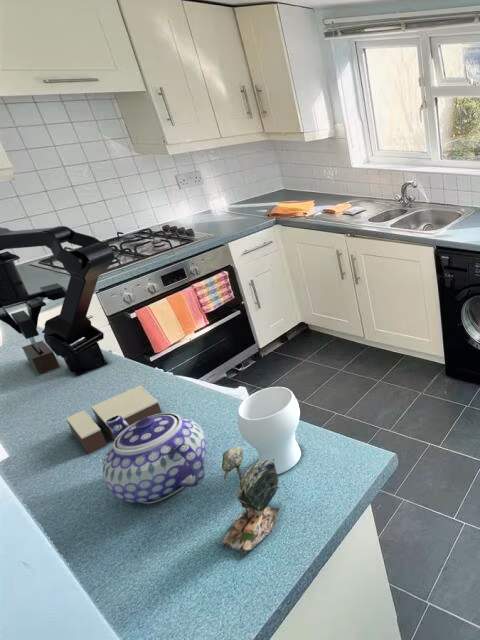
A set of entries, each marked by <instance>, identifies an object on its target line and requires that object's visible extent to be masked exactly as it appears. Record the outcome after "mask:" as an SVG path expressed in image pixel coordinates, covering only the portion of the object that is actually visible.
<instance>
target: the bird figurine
mask: <svg viewBox="0 0 480 640" xmlns="http://www.w3.org/2000/svg"><path fill="white" fill-rule="evenodd" d="M243 454H244V452H243V448H242V447H241V446H240V445H238V446H236V447H232V448H229V449H227V450H226V451H224V452H223V453H222V460H221V470H222V471H223V472H224V478H223V479H224V480H227V478H228V474H229V473H230V472H231V471H233V470H235V469H236V472H237V474H238V478H239V481H240V482H239V484H238V488H237V493H236V499H237V501H238V503H240V506H241V508H243V509H245V511H244V512H243V513H241V514H239V515H238V517H236V518H234V522H233V523H232V524H231V526H230V527H229V528H228V529H227V533H226V534H225V535H224V537H223V540H222V541H221V543H222V546H223V547H228V546H229V548H232V549H234V551H237V552H238V551H239V554H242V555H246V554H247V553H249V552H251V551H252V550H253V549H255V547H256V546H258V545H259V544H260V543H261V541H263V540H264V538H266V537H267V535H270V533H271V532H273V530H274V528H275V525H276V520H277V518H278V517H279V515H278V514H279V511H280V508H279V507H271V506H268V505H269V504H270V502H271V501H272V499H273V497H275V495H276V493H277V491H278V489H280V486H279V485H278V484H279V474H277V472H276V468H275V464H274V463H273V462H272V461H270V460H261V461H259V460H258V461H257V462H255V463H253V465H251V466H250V467H249V468H248V469H247V470H245V471H246V472H244V474H243V475H242V472H241V465H242V463H243V460H244V455H243ZM273 461H274V459H273ZM234 551H233V552H234Z"/></svg>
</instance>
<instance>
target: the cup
mask: <svg viewBox="0 0 480 640" xmlns="http://www.w3.org/2000/svg"><path fill="white" fill-rule="evenodd" d="M300 418H301V410H300V404H299V401H298V399H297V398H296V396H295V394H294V392H293V391H292V390H291V389H289V388H287V387H283V386H271V387H265V388H262V389H260V390H257V391H256V392H254V393H252V394H250V395H249V396H247V397H246V398H245V399H243V401H242V402H241V403H240V405H239V406H238V409H237V421H236V422H237V426H238V429H239V434H240V436H241V437H242V438H243V439H244V440H245V442H246V443H247V444H248V445H249V446H250V447H253V448H254V449H255V450H256V453H257V454H258V461H261V460H270V461H272V462H273V463H274V464H275V468H276V472H277V474H278V475H280V474H283V473H285V472H287V471H289V470H291V469H292V468H293V467H294V466H295V465H297V464H298V462H299V460H300V458H301V456H302V451H301V449H300V446H299V444H298V442H297V441H296V432H297V429H298V427H299V422H300ZM273 459H274V461H273Z"/></svg>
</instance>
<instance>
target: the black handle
mask: <svg viewBox="0 0 480 640" xmlns="http://www.w3.org/2000/svg"><path fill="white" fill-rule="evenodd" d="M10 316H11V317H12V319H13V320H14V321H15V323H16V324H17V325H18V327H19V328H20V330H21V332H22V334H21V335H22V336H23V338H24V339H25V340H28V339H29V341H30V344H32V345H33V346H34V348H35V349H36V350H37V351H38V352H39V353H40V350H39V348H38V346H37V343H36V342H37V341H36V339H35V337H38V336H40V333H39V332H38V328H37V329H36V327H35V325H34V323H33V320H32V319H31V318H30V317H29V313H28V312H26V311H25V310H20V311H16V312H12V313H10Z"/></svg>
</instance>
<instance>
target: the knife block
mask: <svg viewBox="0 0 480 640" xmlns="http://www.w3.org/2000/svg"><path fill="white" fill-rule="evenodd" d="M36 343H37V346H38V348H39V350H40V353H39V352H38V351H37V350H36V349H35V348H34V346H33V345H32V344H31V343H30V344H27V345H24V346H22V347H21V349H22V351H23V353H24V354H25V356H26V359H27V360H28V362H29V364H30V365H31V367H32V368H33V369H34V370H35V371H36V372H37V374H38V375H42V374H46V373H49V372H51V371H53V370H56V369H59V368H60V367H61V366H60V364H59V361H58V359H57V357H56V354H55V353H54V352H53V350H52V349H51V348H50V347H49V346H48V345H47V344H46V342H45V341H44V340H39V341H36Z"/></svg>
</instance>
